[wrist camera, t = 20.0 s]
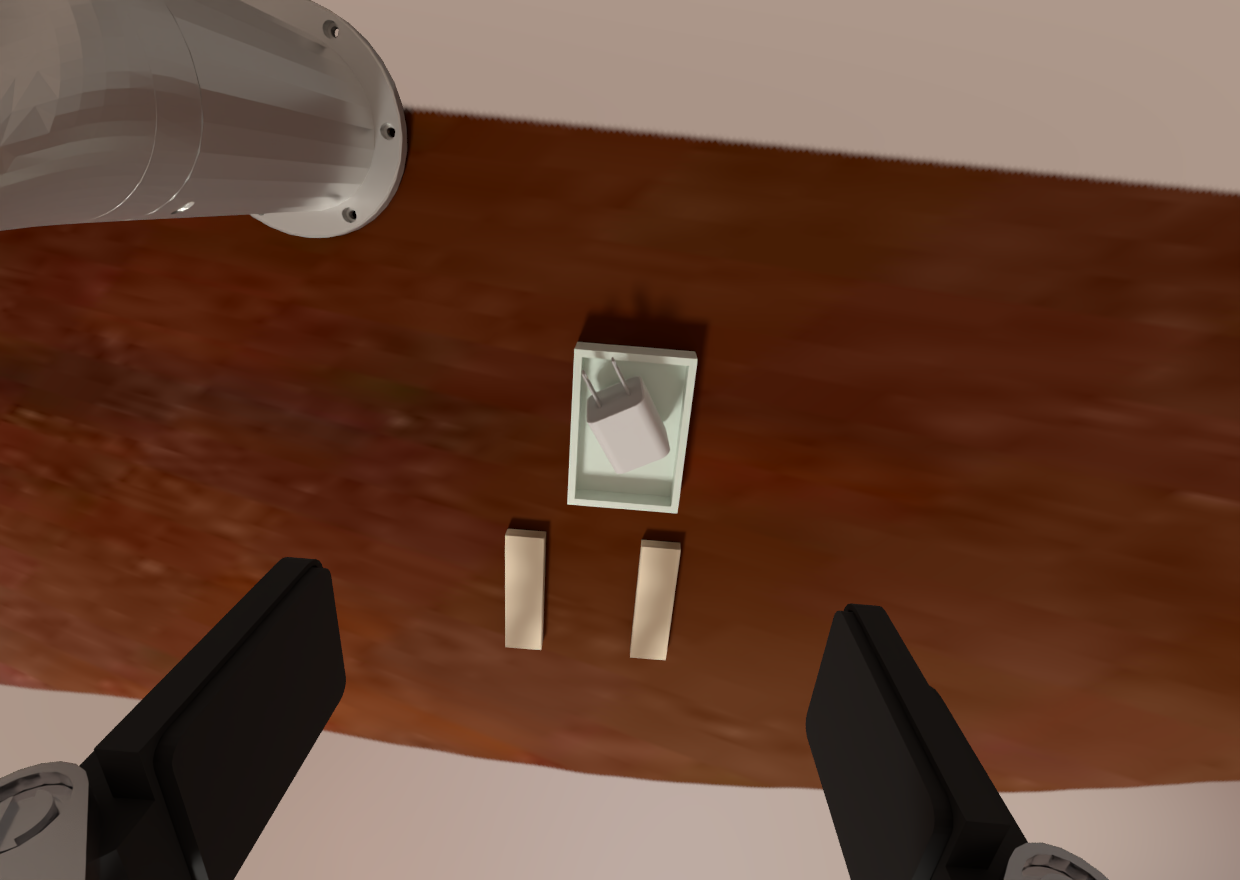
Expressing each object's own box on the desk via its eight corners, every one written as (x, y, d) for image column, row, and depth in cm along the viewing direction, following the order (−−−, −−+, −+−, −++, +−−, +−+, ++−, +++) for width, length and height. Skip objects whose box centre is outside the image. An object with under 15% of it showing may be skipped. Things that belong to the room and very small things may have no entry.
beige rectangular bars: (508, 638, 50) (505, 646, 49) (508, 528, 45) (505, 535, 44) (665, 651, 50) (665, 660, 49) (679, 542, 45) (680, 550, 44)
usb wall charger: (613, 444, 42) (615, 476, 38) (569, 364, 38) (567, 392, 35) (664, 423, 41) (671, 454, 38) (624, 340, 37) (628, 366, 34)
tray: (570, 491, 44) (567, 504, 42) (577, 341, 39) (574, 349, 38) (675, 499, 44) (677, 513, 42) (695, 351, 39) (697, 359, 38)
